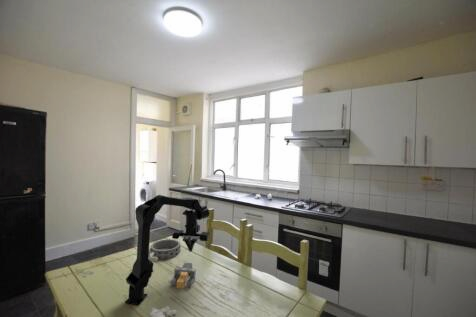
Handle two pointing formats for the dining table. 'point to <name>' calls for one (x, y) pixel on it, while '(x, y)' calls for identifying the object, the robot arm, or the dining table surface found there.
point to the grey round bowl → (165, 253)
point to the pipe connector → (152, 257)
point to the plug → (183, 276)
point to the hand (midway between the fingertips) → (190, 251)
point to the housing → (179, 270)
